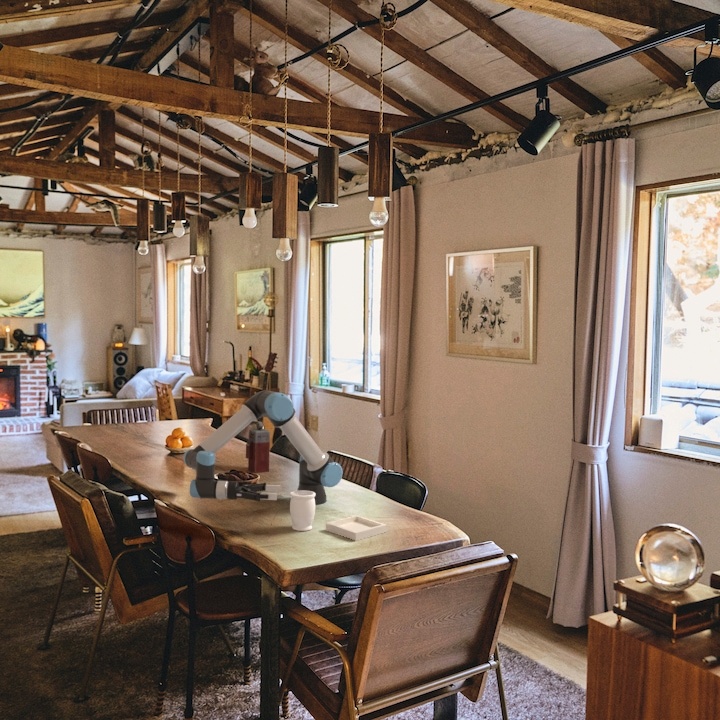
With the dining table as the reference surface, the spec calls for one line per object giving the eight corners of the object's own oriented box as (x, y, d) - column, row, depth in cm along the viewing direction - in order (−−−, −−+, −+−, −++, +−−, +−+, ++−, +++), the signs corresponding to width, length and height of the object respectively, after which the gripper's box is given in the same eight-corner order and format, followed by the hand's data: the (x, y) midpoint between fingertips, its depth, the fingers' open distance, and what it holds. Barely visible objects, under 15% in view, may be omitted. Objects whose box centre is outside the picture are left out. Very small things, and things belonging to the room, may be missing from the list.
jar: (318, 526, 297) (319, 491, 296) (309, 533, 287) (310, 497, 286) (295, 523, 300) (295, 488, 299) (285, 530, 290) (286, 494, 289)
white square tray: (356, 522, 305) (356, 515, 304) (386, 532, 292) (387, 524, 292) (325, 530, 292) (325, 522, 292) (355, 541, 279) (355, 533, 279)
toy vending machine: (244, 470, 397) (245, 421, 396) (262, 468, 404) (263, 420, 402) (251, 473, 390) (252, 423, 388) (269, 471, 396) (270, 422, 395)
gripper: (233, 491, 305) (282, 494, 305) (221, 507, 280) (274, 509, 280) (234, 474, 305) (282, 477, 305) (222, 488, 280) (275, 490, 280)
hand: (279, 492), depth 292 cm, fingers open, 13 cm apart
